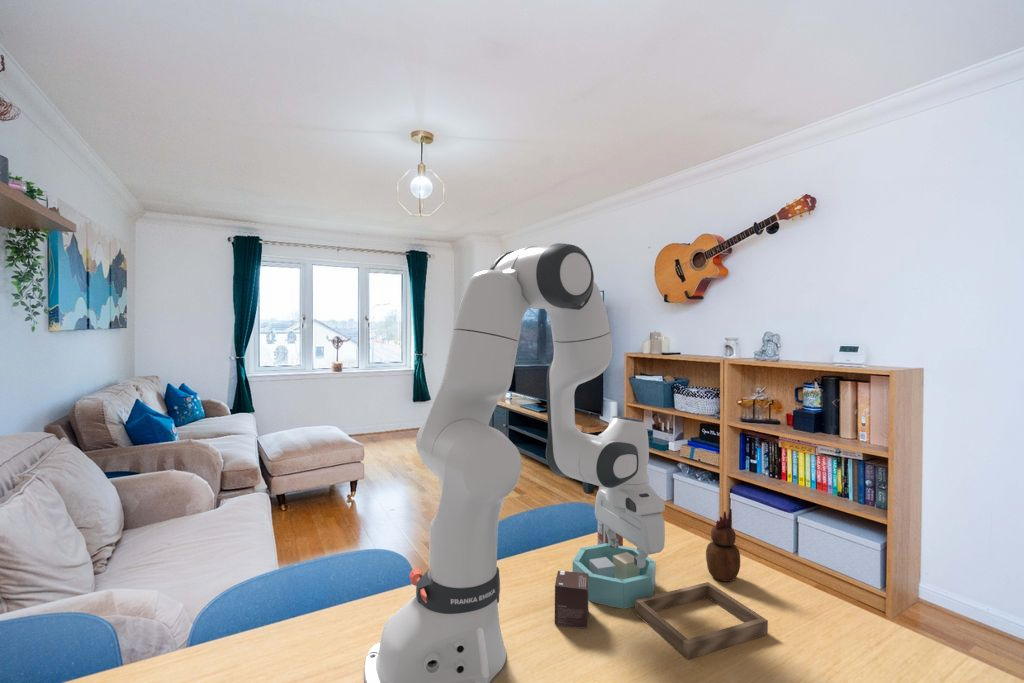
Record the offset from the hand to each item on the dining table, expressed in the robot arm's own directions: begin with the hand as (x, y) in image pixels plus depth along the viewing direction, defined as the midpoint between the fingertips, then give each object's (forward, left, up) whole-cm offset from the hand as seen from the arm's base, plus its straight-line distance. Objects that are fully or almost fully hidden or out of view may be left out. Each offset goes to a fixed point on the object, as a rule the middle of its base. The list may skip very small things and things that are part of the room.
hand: (625, 556), depth 102 cm
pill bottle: (+6, +15, -6) cm, 17 cm away
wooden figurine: (+21, -6, -6) cm, 23 cm away
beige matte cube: (0, 0, -5) cm, 5 cm away
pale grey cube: (-6, 0, -5) cm, 8 cm away
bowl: (-3, 0, -6) cm, 6 cm away
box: (-17, -7, -6) cm, 19 cm away
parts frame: (+4, -17, -6) cm, 18 cm away
